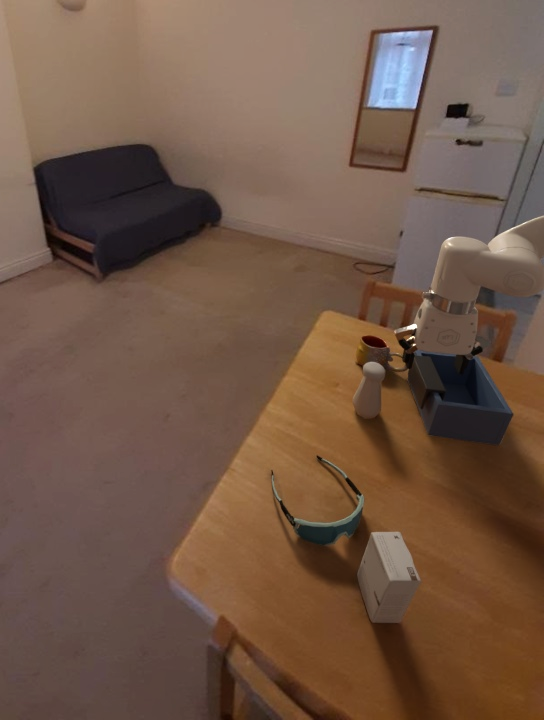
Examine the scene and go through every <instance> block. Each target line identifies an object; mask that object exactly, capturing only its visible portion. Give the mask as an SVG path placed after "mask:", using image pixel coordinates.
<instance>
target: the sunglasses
mask: <svg viewBox="0 0 544 720" xmlns="http://www.w3.org/2000/svg"><path fill="white" fill-rule="evenodd" d="M316 459H317V460H319V461H320V462H322V463H323V464H326V465H328V466H329V467H330V468H332V469H333V470H335V471H336V472H338V473H339V474H340V476H342V477H343V479H344V480H345V482H346V483H347V486H349V487H350V489H351V490H352V491H353V492H354V494H355V495H356V497H355V499H356V500H357V502H358V505H357V507H356V508H355V509H354V510H353V511H352V513H350V515H348V516H347V517H345V518H342V519H340V520H337V521H333V522H319V521H318V522H317V521H308V520H304V519H301V518H296V517H294V516H293V515H292V514H291V512H290V511H289V509H288V508H287V507H286V506H285V504H284V502H283V500H282V498H280V496H279V495H278V492H277V490H276V487H275V481H274V480H275V478H274V477H275V476H274V471H273V469H271V470H270V471H271V486H272V492H273V494H274V497H275V499H276V500H277V502H278V503H279V506H280V509H281V511H282V513H283V515H284V516H285V518H286V519H287V521H288V522H289V524H290V525H291V527H292V530H293V531H294V534H296V535H297V537H298V538H300V539H301V540H303V541H307V542H309V543H312V544H315V545H318V546H330V545H331V546H332V545H335V544H336V543H337V542H338V540H339V539H340V538H341V537H343V536H346V538H347V539H350V538H351V537H352V536H354V533H355V531H356V530H357V528H358V526H359V525H360V521H361V518H362V514H363V510H364V503H365V495H364V494H362V493H361V491H360V490H359V488H358V487H357V486H356V484H355V483H354V482H353V481H352V480H351V479H350V478H349V477H348V475H347V474H346V473H345V471H343V470H342V469H341V468H340V467H338V466H337V465H336V464H335V463H332V462H331V461H329V460H328V459H325V458H323V457H321V456H320V455H318V454H316Z"/></svg>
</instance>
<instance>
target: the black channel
mask: <svg viewBox="0 0 544 720" xmlns="http://www.w3.org/2000/svg"><path fill="white" fill-rule="evenodd" d="M407 377H409V379H410V382H411V385H412V387H413V390H414V393H415V395H416V398H417V401H418V403H419V406H420V409H423V407H424V404H425V401H426V398H427V394H428V392H436V393H439V395H440V398H441V400H442V401H443V399H444V396H445V393H446V390H445V388H444V386H443V383H442V381H441V379H440V377H439V375H438V373H437V371H436V368H435V366H434V364H433V362H432V360H431V358H430V357H426V356H417V355H415V357H414V361H413V365H412V368H411V369H408V370H407Z"/></svg>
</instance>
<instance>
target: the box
mask: <svg viewBox="0 0 544 720" xmlns="http://www.w3.org/2000/svg"><path fill="white" fill-rule="evenodd" d="M414 355H417V356H426V357H430V358H431V360H432V362H433V364H434V366H435V368H436V371H437V373H438V375H439V377H440V379H441V381H442V383H443V386H444V388H445V390H446V393H445V396H444V399H443V401H442V400H441V398H440V395H439V393H436V392H428V394H427V398H426V401H425V404H424V407H423V409H420V406H419V403H418V401H417V398H416V395H415V393H414V390H413V387H412V385H411V382H410V379H409V377H408V376H407V377H406V379H407V382H408V385H409V388H410V390H411V393H412V396H413V398H414V401H415V404H416V406H417V410H418V412H419V414H420V417H421V420H422V423H423V425H424V428H425V431H426V433H427V436H430V437H436V438H443V439H449V440H450V439H451V440H457V441H465V442H471V443H478V444H485V445H493V446H500V445H501V443H502V441H503V439H504V436H505V435H506V432H507V430H508V427H509V425H510V424H511V421H512V419H513V417H514V412H513V410H512V409H511V407H510V405H509V403H508V402H507V401H506V399H505V397H504V396H503V394H502V392H501V391H500V389H499V388H498V386H497V385H496V383H495V381H494V379H493V378H492V376H491V375H490V373H489V372H488V370H487V368H486V367H485V365H484V364H483V362H482V361H481V358H479V356H478V355H475V356H473V357H474V358H473V359H472V360H469V362H468V365H467V368H466V369H465V370H464V373H463V375H461V374H458V372H457V370H456V368H455V366H454V361H455V357H456V354H446V353H436V352H426V351H421V350H419V349H418V350H416V351H415V352H414Z"/></svg>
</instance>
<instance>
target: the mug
mask: <svg viewBox="0 0 544 720" xmlns="http://www.w3.org/2000/svg"><path fill="white" fill-rule="evenodd" d="M355 356H356V360H355V364H356V365H360V366H362V367H363V366H364V365H365V364H366V363H368V362H376V363H379V364H380V365H381V366H383V368H384V369H385V371H390V372H394V373H404V372H407V371H408V369H407V366H406V364H405V363H404V366H403V367H394V366H393V365H391V364H390V363H391V362H393V361H394V358H393V356H395V357H399V358H401V359H402V356H403V353H402V354H401V352H391V349H390V346H389V345H388V343H387V341H386V339H383V338H382V337H380V336H376V335H371V334H364V335H362V336H360V337H359V344H358V346H357V348H356V353H355ZM389 362H390V363H389Z"/></svg>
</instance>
